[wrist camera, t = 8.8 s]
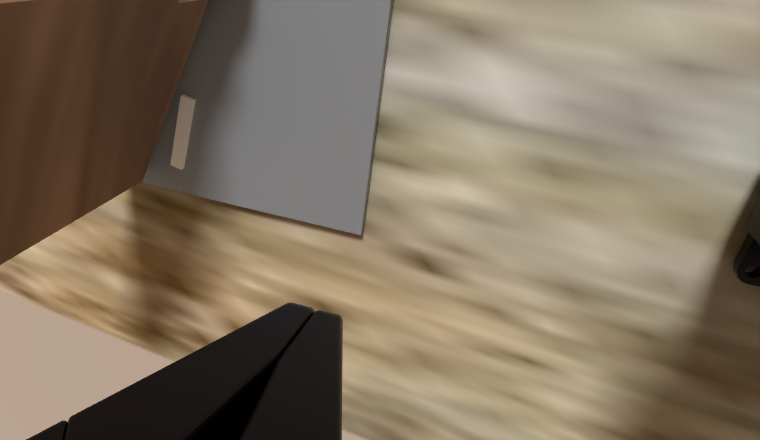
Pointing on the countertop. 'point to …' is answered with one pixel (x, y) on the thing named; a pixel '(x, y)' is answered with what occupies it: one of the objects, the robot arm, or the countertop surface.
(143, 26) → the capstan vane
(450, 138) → the countertop surface
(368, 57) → the slate base
